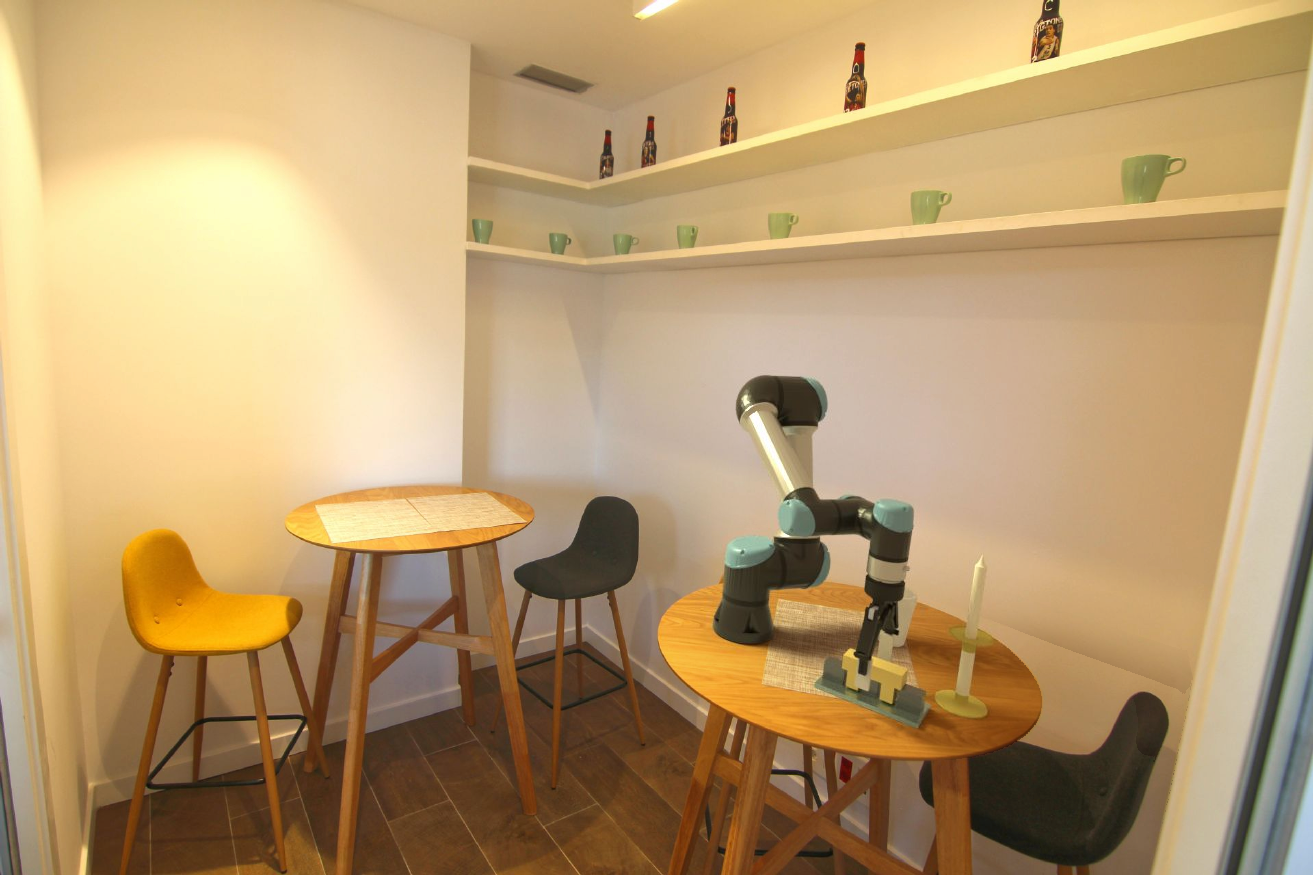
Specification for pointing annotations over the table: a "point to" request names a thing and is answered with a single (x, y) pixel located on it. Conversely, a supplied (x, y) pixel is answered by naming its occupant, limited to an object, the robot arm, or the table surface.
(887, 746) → the table surface
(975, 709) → the candle
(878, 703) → the rail
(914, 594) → the foam cup
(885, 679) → the yellow arch-shaped block
